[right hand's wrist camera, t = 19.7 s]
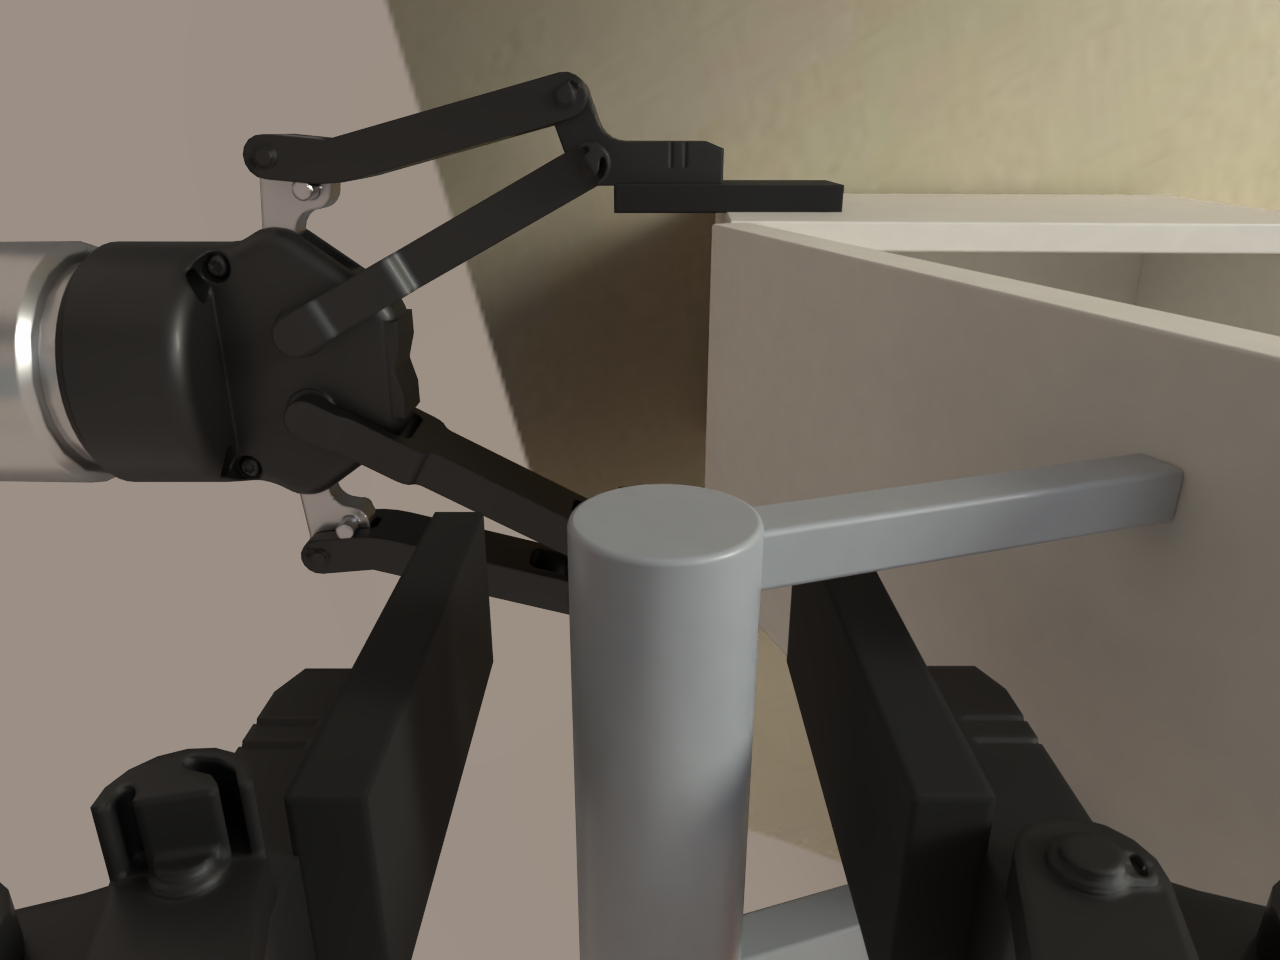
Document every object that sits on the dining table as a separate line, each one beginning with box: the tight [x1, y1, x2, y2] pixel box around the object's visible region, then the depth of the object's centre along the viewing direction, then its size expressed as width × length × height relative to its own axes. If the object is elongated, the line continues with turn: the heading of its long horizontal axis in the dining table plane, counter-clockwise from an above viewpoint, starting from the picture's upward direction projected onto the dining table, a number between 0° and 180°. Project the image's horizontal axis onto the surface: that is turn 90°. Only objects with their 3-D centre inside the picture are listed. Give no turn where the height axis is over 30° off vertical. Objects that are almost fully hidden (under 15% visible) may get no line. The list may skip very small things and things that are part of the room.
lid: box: [567, 223, 1280, 960], centre depth 16 cm, size 17×10×8 cm
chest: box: [715, 194, 1280, 336], centre depth 30 cm, size 16×10×11 cm, turn 90°
